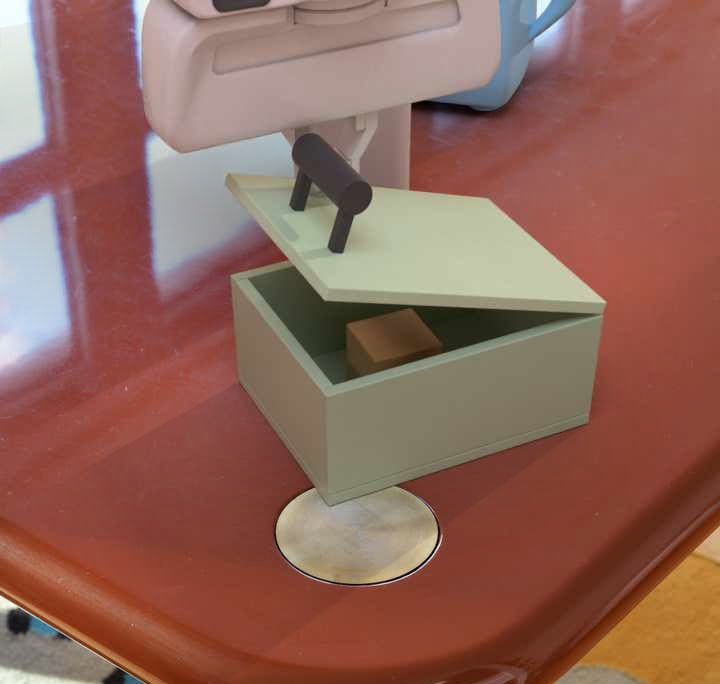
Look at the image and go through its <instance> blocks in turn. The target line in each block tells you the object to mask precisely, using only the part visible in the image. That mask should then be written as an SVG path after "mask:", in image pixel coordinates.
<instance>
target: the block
mask: <svg viewBox="0 0 720 684" xmlns="http://www.w3.org/2000/svg"><path fill="white" fill-rule="evenodd" d="M346 341H347V381H350V380H353V379H357V378H360V377H364V376H367V375H370V374H374V373H377V372H381V371H384V370H388V369H391V368H395V367H398V366H402V365H405V364H409V363H412V362H415V361H419V360H422V359H426V358H429V357H433V356H436V355H440V354H442V350H443V345H442V343H441V342H440V341H439V340H438V339H437V337H436V336H435V335H434V334H433V333H432V332H431V330H430V329H429V328H428V327H427V326H426V325H425V323H424V322H423V321H422V320H421V319H420V317H419V316H418V315H417V314H416V313H415V312H414V310H413V309H412V308H409V309H405V310H401V311H397V312H393V313H389V314H385V315H381V316H376V317H372V318H368V319H364V320H360V321H356V322H352V323H348V324H346Z"/></svg>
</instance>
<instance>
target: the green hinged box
mask: <svg viewBox="0 0 720 684" xmlns="http://www.w3.org/2000/svg"><path fill="white" fill-rule="evenodd" d="M230 287H231V300H232V301H231V302H232V313H233V314H232V316H233V325H234V326H233V327H234V338H235V350H236V351H235V354H236V364H237V365H236V366H237V377H238V379H237V381H238V383H240V385H241V386H242V388H243V389H244V391H245V392H246V394H248V396H249V398H250V399H251V400H252V402H253V403H254V404H255V406H256V407H257V409H258V410H259V411H260V413H261V414H262V415H263V417H264V418H265V419H266V421H267V422H268V424H269V425H270V427H271V429H273V430H274V432H275V433H276V435H277V436H278V437H279V439H280V441H281V442H282V443H283V445H284V446H285V448H286V449H287V450H288V451H289V453H290V454H291V455H292V457H293V459H294V460H295V461H296V462H297V464H298V465H299V467H300V468H301V470H302V471H303V472H304V473H305V475H306V476H307V478H308V479H309V480H310V482H311V483H312V484H313V487H314V488H315V489H316V490H317V492H318V493H319V495H320V496H321V497H322V499H323V500H324V502H325V503H326V504H327V506H329V507H330V506H331V507H332V506H335V505H338V504H340V503H343V502H347V501H349V500H350V501H351V500H353V499H356V498H359V497H362V496H365V495H366V496H367V495H369V494H371V493H375V492H378V491H381V490H384V489H387V488H391V487H393V486H398V485H400V484H403V483H407V482H410V481H412V480H416V479H418V478H422V477H425V476H428V475H431V474H434V473H437V472H440V471H443V470H446V469H447V470H448V469H449V468H453V467H456V466H459V465H462V464H465V463H469V462H471V461H474V460H478V459H481V458H484V457H487V456H490V455H494V454H497V453H499V452H502V451H505V450H510V449H512V448H515V447H519V446H521V445H524V444H528V443H530V442H533V441H537V440H540V439H543V438H547V437H550V436H552V435H556V434H559V433H562V432H565V431H568V430H571V429H575V428H577V427H581V426H584V425H587V424H589V421H590V415H591V413H590V412H591V407H592V398H593V392H594V384H595V378H596V372H597V364H598V356H599V349H600V343H601V335H602V329H603V320H604V315H603V313H602V314H589V313H568V312H547V311H526V310H505V309H484V308H463V307H442V306H421V305H400V304H379V303H358V302H337V301H325V300H324V299H323V298H322V297H321V296H320V295H319V294H318V293H317V291H316V290H315V289H314V288H313V287H312V286H311V284H310V283H309V282H308V281H307V280H306V279H305V277H304V276H303V275H302V274H301V273H300V272H299V271H298V269H297V268H296V267H295V266H294V265H293V264H292V262H291V261H290V260H289V259H288V260H283V261H279V262H276V263H272V264H268V265H264V266H260V267H256V268H252V269H248V270H245V271H241V272H236V273H233V274H230ZM409 308H412V309H413V310H414V312H415V313H416V314H417V315H418V316H419V317H420V319H421V320H422V321H423V322H424V323H425V325H426V326H427V327H428V328H429V329H430V330H431V332H432V333H433V334H434V335H435V336H436V337H437V339H438V340H439V341H440V342H441V343H442V345H443V350H442V354H440V355H436V356H433V357H429V358H426V359H422V360H419V361H415V362H412V363H409V364H405V365H402V366H398V367H395V368H391V369H388V370H384V371H381V372H377V373H374V374H370V375H367V376H364V377H360V378H357V379H353V380H350V381H347V341H346V324H348V323H352V322H356V321H360V320H364V319H368V318H372V317H376V316H381V315H385V314H389V313H393V312H397V311H401V310H405V309H409Z"/></svg>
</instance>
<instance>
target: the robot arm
mask: <svg viewBox="0 0 720 684" xmlns="http://www.w3.org/2000/svg"><path fill="white" fill-rule="evenodd" d="M140 43H141V44H140V65H141V66H140V69H141V89H142V99H143V100H142V101H143V107H144V109H143V110H144V113H145V118H146V121H147V122H148V124H149V126H150V128H151V129H152V130H153V132H154V134H156V135H157V136H158V137H159V138H160V139H161V141H163V142H164V143H165V144H166V145H167V146H168V147H170V148H171V149H172V150H173V151H175V152H176V153H179V154H190V153H194V152H199V151H203V150H206V149H207V150H208V149H212V148H215V147H220V146H224V145H229V144H234V143H238V142H242V141H247V140H252V139H255V138H261V137H265V136H269V135H273V134H278V133H281V134H282V136H283V137H284V138H285V140H286V142H287V143H288V144H289V146H290V147H291V149H292V148H293V145H294V143H295V142H296V141H297V139H298V138H300V137H301V136H303V135H305V134H308V133H314V134H317V135H318V131H317V124H319V123H324V122H328V121H333V120H337V119H342V118H344V119H345V120H346V121H347V122H346V124H345V127H344V129H343V131H342V133H341V136H340V138H339V140H338V143H337V145H336V147H335V148H333V149H334V150H335V151H336V152H337V153H338V154H339V155H340V156H341V157H342V158H343V159H344V160H345V161H346V162H347V163H348V164H349V165H350V166H351V167H352V168H353V169H355V170H356V171H357V172H358V173H359V158H360V157H362V155H363V153H364V151H365V150H366V148H367V146H368V144H369V142H370V140H371V139H372V137H373V135H374V133H375V131H376V129H377V128H378V110H382V109H387V108H391V107H396V106H400V105H405V104H409V103H411V104H413V103H418V101H419V102H422V101H427V99H432V98H436V97H441V96H445V95H450V94H454V93H459V92H463V91H468V90H472V89H477V88H481V87H485V86H486V85H488V84H489V82H490V81H491V79H492V78H493V76H494V75H495V73H496V72H497V70H498V68H499V66H500V57H501V32H500V14H499V2H498V0H149V2H148V4H147V6H146V8H145V11H144V15H143V19H142V25H141V41H140ZM309 193H310V194H311V195H314V194H318V193H322V191H321V190H320V189H319V188H318V187H317V186H316V185H315V184H314V183H313V182H312V185H311V188H310V192H309Z"/></svg>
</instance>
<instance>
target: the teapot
mask: <svg viewBox="0 0 720 684" xmlns="http://www.w3.org/2000/svg"><path fill="white" fill-rule="evenodd" d="M577 1H578V0H551V1H550V2H549V3H548V5H547V6H546V8H545V9H544V10H543V12H542V13H541V14H540V15H539V16H538V0H498V2H499V14H500V32H501V57H500V66H499V68H498V70H497V72H496V73H495V75H494V76H493V78H492V79H491V81H490V82H489V84H488V85H486V86H485V87H481V88H477V89H472V90H468V91H463V92H459V93H454V94H450V95H445V96H441V97H436V98H432V99H427V100H426V101H429V102H436V103H445V104H454V105H463V106H469V107H470V108H472V109H473V110H475V111H481V112H490V111H494V110H497V109H498V108H500V107H503V106H504V105H505V104H507V103H508V101H510V99H511V98H512V96H513V95H514V93H515V92H516V91H517V89H518V87H519V86H520V84H521V82H522V81H523V78H524V77H525V74H526V72H527V69H528V65H529V63H530V61H531V56H532V52H533V50H534V45H535V40H536V39H537V38H538V37H539V36H541V35H542V34H543V33H544V32H546V31H548V29H549V28H551V27H552V26H554V25H555V24H556V23H558V21H559V20H561V19H562V18H563V17H564V16H565V15H566V14H567V13H568V12H569V11H570V10H571V9H572V8H573V6H574V5H575V3H576V2H577ZM418 102H420V101H418ZM418 102H417V103H418Z"/></svg>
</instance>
